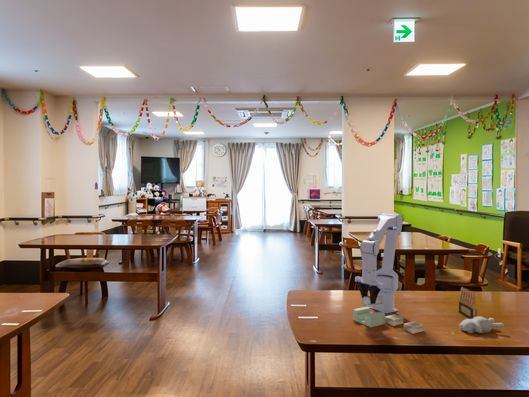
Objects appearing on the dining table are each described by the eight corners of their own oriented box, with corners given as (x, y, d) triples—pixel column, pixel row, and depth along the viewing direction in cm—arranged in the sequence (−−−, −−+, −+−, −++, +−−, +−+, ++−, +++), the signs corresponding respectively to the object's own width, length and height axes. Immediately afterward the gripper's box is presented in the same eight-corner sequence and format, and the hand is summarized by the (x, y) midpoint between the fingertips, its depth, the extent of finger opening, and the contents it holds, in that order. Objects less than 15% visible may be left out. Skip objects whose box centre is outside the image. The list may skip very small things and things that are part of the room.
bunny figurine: (454, 317, 156) (490, 312, 157) (455, 329, 156) (491, 324, 157) (469, 325, 146) (506, 320, 147) (470, 339, 146) (507, 333, 148)
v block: (352, 320, 163) (353, 309, 163) (366, 316, 167) (366, 306, 167) (370, 327, 155) (371, 316, 155) (384, 323, 159) (384, 313, 159)
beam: (384, 322, 160) (384, 316, 160) (394, 320, 163) (394, 314, 163) (413, 333, 148) (413, 327, 148) (423, 330, 151) (423, 324, 151)
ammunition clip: (476, 320, 163) (477, 292, 163) (472, 320, 163) (473, 292, 162) (462, 312, 174) (463, 285, 173) (458, 312, 174) (458, 285, 173)
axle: (361, 305, 161) (361, 296, 161) (376, 303, 166) (376, 293, 166) (368, 307, 158) (368, 297, 158) (384, 304, 162) (383, 295, 163)
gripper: (349, 267, 164) (349, 299, 165) (375, 274, 152) (375, 308, 152) (361, 265, 168) (361, 296, 169) (388, 272, 156) (387, 305, 156)
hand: (368, 302), depth 161 cm, fingers closed on axle, 4 cm apart
